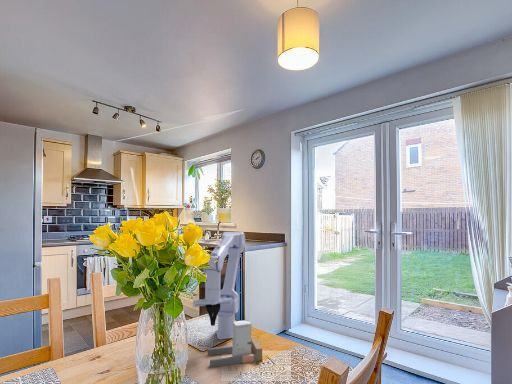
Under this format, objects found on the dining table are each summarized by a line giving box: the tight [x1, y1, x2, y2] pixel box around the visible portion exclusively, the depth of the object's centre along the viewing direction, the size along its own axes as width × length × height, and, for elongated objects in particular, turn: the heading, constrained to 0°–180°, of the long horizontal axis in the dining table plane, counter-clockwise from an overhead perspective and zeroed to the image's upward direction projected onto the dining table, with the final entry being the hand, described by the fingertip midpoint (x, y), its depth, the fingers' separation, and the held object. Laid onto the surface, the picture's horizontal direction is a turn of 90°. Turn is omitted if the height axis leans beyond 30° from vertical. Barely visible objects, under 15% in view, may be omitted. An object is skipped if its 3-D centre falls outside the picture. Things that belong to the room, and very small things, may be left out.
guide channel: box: [207, 337, 263, 368], centre depth 107 cm, size 9×18×4 cm, turn 104°
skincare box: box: [231, 319, 252, 357], centre depth 107 cm, size 6×4×12 cm
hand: (212, 324), depth 113 cm, fingers closed
